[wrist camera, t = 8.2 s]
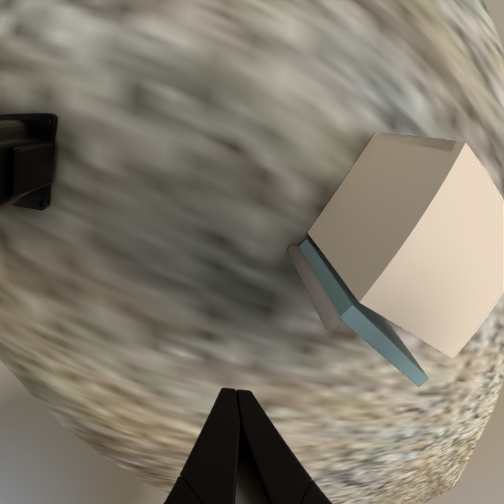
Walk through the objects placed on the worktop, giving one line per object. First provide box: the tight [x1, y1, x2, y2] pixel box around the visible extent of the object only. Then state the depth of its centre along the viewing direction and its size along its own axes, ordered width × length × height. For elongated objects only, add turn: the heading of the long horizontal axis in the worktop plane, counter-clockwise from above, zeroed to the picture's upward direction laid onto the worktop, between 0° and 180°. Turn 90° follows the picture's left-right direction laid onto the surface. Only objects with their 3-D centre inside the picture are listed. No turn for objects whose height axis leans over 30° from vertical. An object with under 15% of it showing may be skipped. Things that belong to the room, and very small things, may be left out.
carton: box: [307, 133, 504, 358], centre depth 15 cm, size 9×8×8 cm
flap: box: [288, 239, 429, 387], centre depth 17 cm, size 9×2×8 cm, turn 47°
